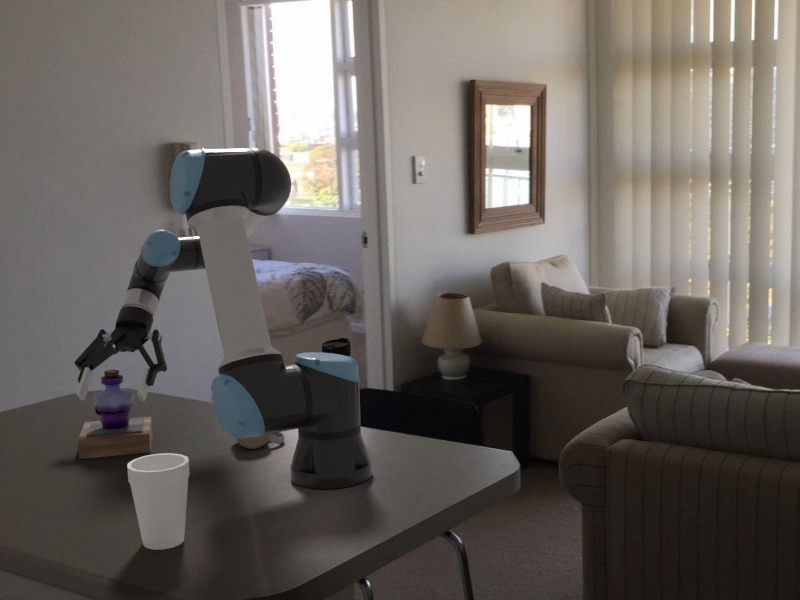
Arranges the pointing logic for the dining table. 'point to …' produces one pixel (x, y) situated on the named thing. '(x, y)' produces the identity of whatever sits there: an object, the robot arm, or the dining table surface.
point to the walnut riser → (115, 439)
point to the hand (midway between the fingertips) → (110, 397)
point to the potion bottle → (113, 402)
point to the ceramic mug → (261, 440)
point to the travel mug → (337, 347)
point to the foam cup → (160, 498)
